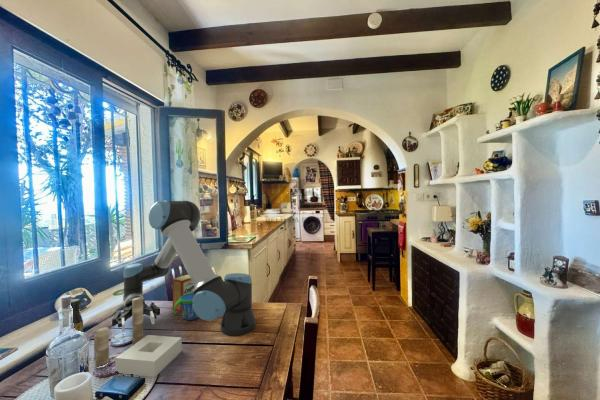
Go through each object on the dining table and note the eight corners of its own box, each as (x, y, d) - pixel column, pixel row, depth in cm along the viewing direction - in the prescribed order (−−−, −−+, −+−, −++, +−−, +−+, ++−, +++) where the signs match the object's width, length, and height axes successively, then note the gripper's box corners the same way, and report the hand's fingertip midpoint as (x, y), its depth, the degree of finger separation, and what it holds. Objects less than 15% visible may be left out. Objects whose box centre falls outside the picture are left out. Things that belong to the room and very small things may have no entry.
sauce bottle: (68, 362, 87) (68, 305, 87) (54, 360, 88) (53, 303, 88) (87, 351, 93) (87, 298, 93) (74, 349, 94) (74, 296, 94)
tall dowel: (145, 343, 98) (145, 297, 98) (138, 348, 95) (138, 301, 95) (137, 342, 99) (137, 297, 99) (130, 348, 95) (130, 300, 95)
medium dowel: (111, 362, 87) (111, 327, 87) (102, 369, 83) (102, 332, 83) (102, 361, 87) (102, 326, 87) (92, 368, 84) (92, 332, 84)
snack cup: (175, 326, 112) (175, 303, 112) (172, 317, 120) (172, 296, 120) (211, 317, 120) (211, 295, 120) (206, 309, 129) (206, 289, 129)
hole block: (181, 351, 93) (181, 337, 93) (154, 377, 79) (154, 361, 79) (147, 348, 95) (147, 334, 95) (115, 373, 81) (115, 357, 81)
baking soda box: (188, 303, 137) (188, 273, 137) (196, 305, 134) (196, 275, 135) (172, 309, 129) (172, 278, 129) (181, 312, 126) (181, 280, 126)
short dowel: (109, 354, 91) (109, 332, 91) (100, 360, 88) (100, 337, 88) (100, 353, 92) (100, 331, 92) (91, 359, 88) (91, 336, 88)
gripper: (162, 306, 117) (170, 325, 99) (104, 320, 105) (102, 344, 86) (162, 290, 117) (170, 306, 99) (104, 302, 105) (102, 322, 87)
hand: (138, 324), depth 93 cm, fingers open, 9 cm apart
